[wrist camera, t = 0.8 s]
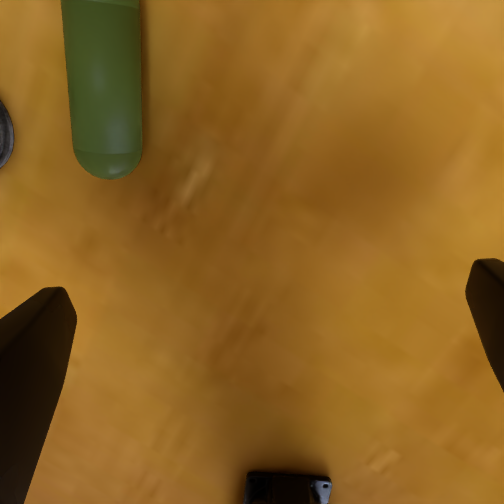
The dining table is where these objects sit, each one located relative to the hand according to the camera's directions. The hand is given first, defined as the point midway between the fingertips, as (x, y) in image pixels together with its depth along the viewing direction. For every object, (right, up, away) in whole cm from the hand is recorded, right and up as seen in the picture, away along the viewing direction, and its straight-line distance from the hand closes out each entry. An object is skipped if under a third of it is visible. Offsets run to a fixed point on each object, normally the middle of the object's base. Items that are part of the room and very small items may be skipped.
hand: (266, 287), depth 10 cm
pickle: (-7, +9, +12) cm, 16 cm away
